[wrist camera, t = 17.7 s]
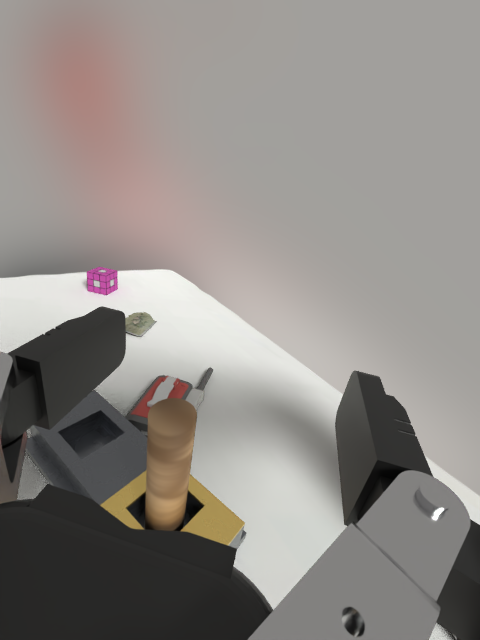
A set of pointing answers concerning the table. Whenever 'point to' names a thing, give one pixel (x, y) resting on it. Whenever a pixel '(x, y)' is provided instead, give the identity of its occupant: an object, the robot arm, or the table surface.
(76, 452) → the socket rail
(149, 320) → the topographic map
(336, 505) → the table surface
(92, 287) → the puzzle toy
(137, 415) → the walkie-talkie
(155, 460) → the walnut peg
